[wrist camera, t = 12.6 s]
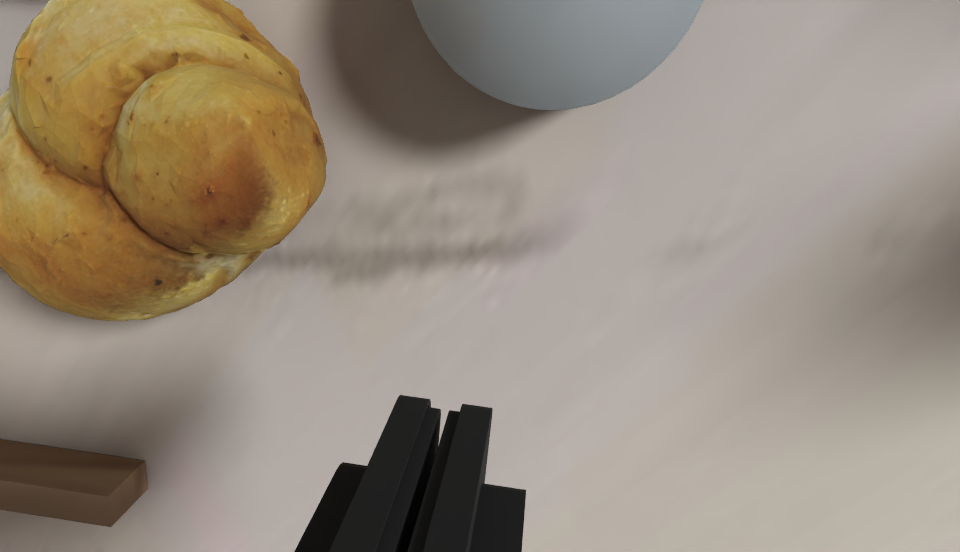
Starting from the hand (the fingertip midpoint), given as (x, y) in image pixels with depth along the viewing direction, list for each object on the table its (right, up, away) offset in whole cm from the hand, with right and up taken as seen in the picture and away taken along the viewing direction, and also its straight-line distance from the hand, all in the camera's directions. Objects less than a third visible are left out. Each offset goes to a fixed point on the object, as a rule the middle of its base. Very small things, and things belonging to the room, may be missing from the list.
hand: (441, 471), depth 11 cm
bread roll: (-10, +8, +13) cm, 18 cm away
